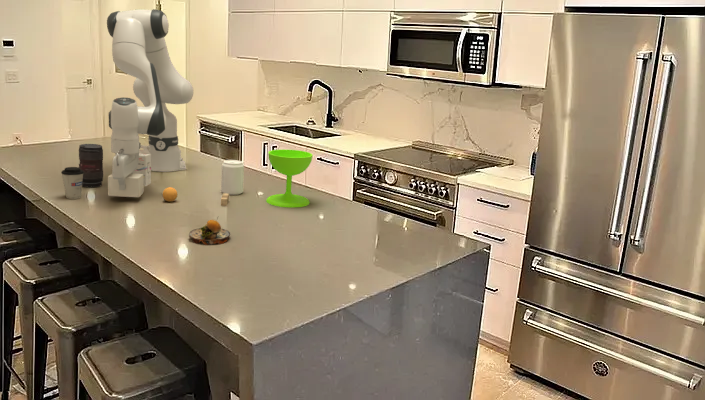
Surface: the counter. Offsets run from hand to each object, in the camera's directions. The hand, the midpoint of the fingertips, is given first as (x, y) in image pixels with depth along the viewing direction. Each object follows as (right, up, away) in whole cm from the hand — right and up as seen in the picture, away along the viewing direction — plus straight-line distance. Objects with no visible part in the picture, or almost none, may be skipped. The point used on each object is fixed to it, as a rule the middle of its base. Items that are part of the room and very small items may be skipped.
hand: (125, 186), depth 205 cm
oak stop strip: (+33, -6, +6) cm, 34 cm away
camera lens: (-18, +1, +16) cm, 24 cm away
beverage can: (+32, -2, +21) cm, 38 cm away
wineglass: (+54, -5, +15) cm, 56 cm away
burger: (+36, -16, -31) cm, 50 cm away
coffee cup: (-18, -4, -1) cm, 18 cm away
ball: (+14, -3, +2) cm, 15 cm away
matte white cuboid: (0, -3, +1) cm, 3 cm away
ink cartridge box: (-4, +1, +23) cm, 24 cm away
